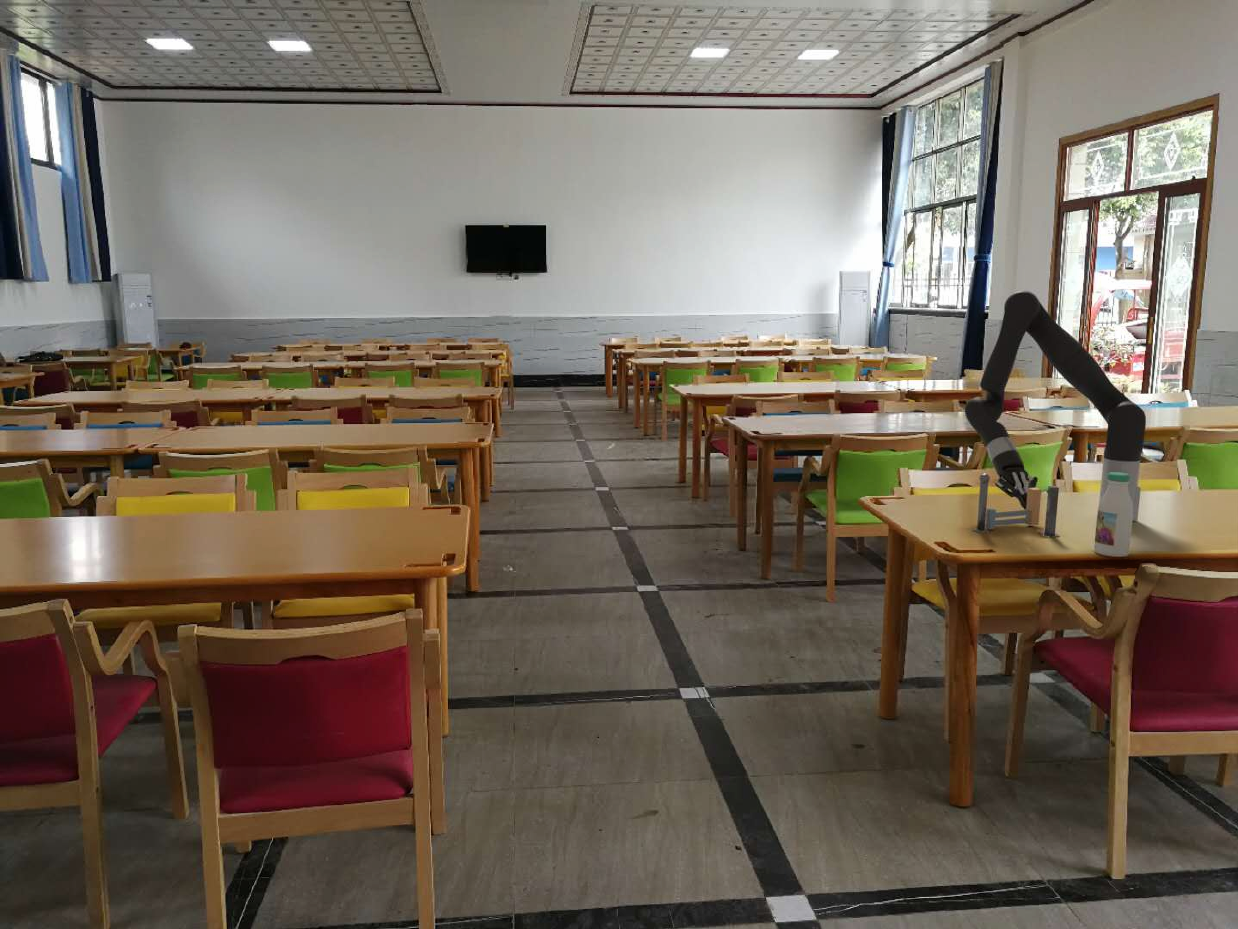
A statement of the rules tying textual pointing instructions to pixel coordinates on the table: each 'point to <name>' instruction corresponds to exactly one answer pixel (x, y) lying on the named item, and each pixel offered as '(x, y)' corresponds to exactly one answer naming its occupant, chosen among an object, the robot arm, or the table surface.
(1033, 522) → the gate
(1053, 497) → the post
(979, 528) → the hinge post
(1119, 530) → the milk bottle
